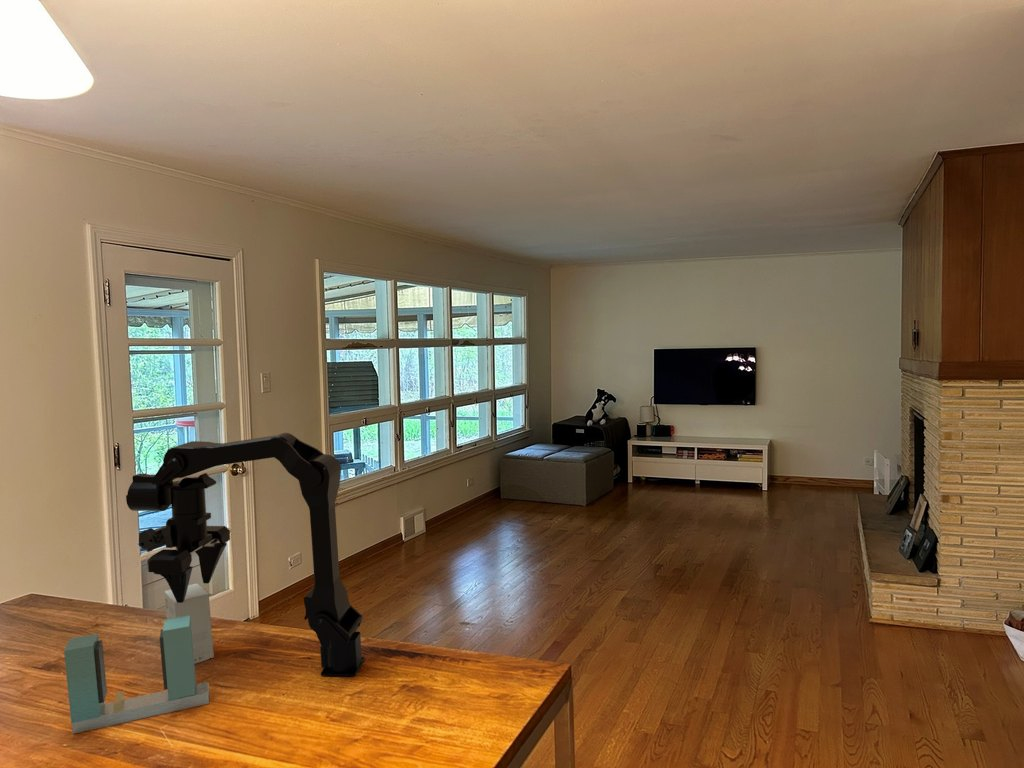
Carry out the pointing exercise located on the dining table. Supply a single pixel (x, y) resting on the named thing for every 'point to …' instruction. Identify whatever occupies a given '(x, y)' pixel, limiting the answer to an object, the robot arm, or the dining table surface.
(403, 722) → the dining table surface
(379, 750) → the dining table surface
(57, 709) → the dining table surface
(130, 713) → the rail
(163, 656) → the tall teal pillar
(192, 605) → the small box
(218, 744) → the dining table surface
